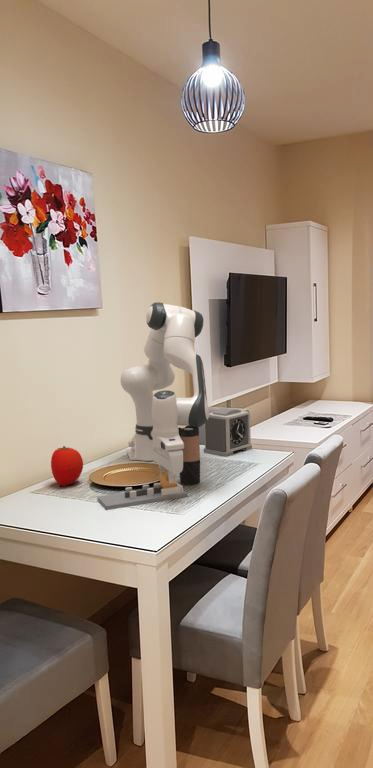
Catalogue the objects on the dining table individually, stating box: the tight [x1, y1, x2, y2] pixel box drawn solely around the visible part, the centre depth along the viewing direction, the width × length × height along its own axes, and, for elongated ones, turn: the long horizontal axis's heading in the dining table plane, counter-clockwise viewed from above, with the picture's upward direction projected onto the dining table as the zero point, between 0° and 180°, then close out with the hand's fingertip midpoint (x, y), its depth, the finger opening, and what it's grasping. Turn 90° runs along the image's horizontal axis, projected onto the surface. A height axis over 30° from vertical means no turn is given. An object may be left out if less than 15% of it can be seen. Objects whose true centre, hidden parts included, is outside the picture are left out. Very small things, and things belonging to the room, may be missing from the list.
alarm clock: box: [203, 407, 253, 458], centre depth 268 cm, size 18×13×18 cm
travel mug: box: [178, 426, 201, 486], centre depth 223 cm, size 8×8×20 cm
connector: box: [123, 471, 176, 498], centre depth 208 cm, size 17×4×6 cm, turn 112°
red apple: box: [50, 445, 84, 487], centre depth 226 cm, size 13×11×14 cm
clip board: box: [96, 480, 189, 511], centre depth 208 cm, size 11×28×4 cm, turn 113°
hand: (167, 479), depth 211 cm, fingers open, 5 cm apart
